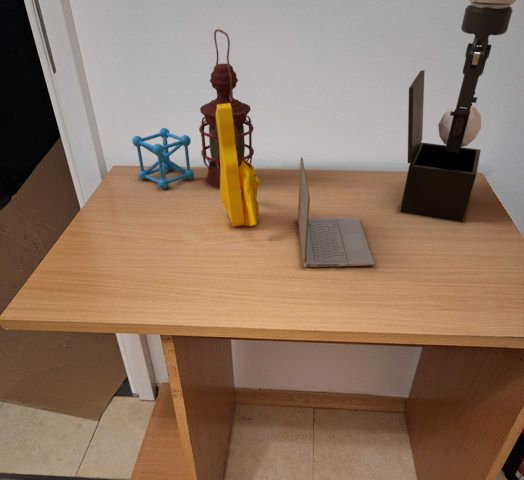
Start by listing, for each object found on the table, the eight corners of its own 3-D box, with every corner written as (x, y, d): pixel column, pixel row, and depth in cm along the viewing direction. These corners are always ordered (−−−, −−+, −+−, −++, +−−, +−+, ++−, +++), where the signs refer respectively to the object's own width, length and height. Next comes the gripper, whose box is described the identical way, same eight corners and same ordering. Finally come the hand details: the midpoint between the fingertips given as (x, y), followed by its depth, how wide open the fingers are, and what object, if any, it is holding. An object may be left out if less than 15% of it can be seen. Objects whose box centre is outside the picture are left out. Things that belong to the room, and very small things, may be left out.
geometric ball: (456, 163, 97) (467, 138, 89) (426, 140, 99) (434, 113, 91) (483, 137, 97) (496, 110, 89) (452, 114, 99) (462, 86, 91)
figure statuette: (266, 240, 93) (266, 118, 78) (225, 243, 92) (217, 120, 77) (254, 200, 106) (252, 90, 91) (218, 203, 105) (211, 91, 91)
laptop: (373, 267, 85) (386, 197, 77) (303, 268, 85) (307, 197, 77) (358, 220, 99) (367, 156, 90) (297, 221, 99) (300, 156, 90)
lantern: (263, 184, 112) (262, 32, 92) (214, 194, 108) (202, 37, 89) (242, 167, 121) (237, 23, 101) (196, 175, 117) (181, 27, 97)
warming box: (467, 194, 108) (480, 149, 102) (462, 222, 98) (476, 174, 92) (410, 185, 112) (419, 142, 105) (399, 212, 102) (409, 165, 95)
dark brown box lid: (424, 70, 97) (420, 70, 97) (413, 87, 86) (408, 88, 87) (422, 139, 105) (418, 140, 105) (411, 163, 95) (407, 163, 95)
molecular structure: (163, 191, 110) (156, 146, 103) (137, 179, 115) (129, 136, 108) (196, 179, 115) (192, 135, 108) (170, 168, 120) (164, 125, 114)
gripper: (470, -3, 89) (440, 126, 105) (461, 11, 75) (428, 159, 90) (514, -2, 87) (477, 131, 102) (513, 14, 73) (470, 165, 88)
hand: (454, 144), depth 96 cm, fingers closed on geometric ball, 8 cm apart
